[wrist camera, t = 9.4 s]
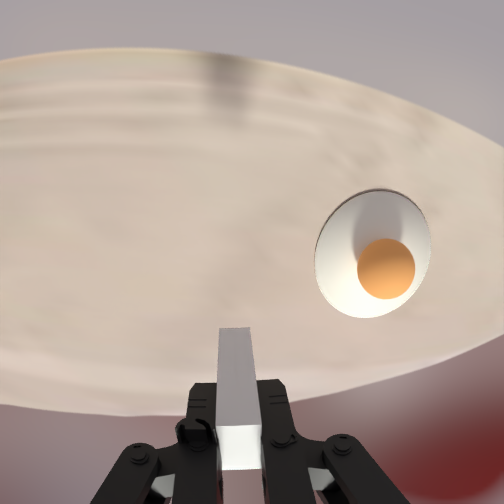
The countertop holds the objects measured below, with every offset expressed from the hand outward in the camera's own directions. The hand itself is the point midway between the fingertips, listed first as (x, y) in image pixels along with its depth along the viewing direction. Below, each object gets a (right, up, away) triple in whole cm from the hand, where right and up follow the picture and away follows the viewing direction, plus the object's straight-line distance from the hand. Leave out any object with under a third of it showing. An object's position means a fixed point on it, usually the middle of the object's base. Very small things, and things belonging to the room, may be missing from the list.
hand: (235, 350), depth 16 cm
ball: (+13, +3, +12) cm, 18 cm away
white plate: (+13, +4, +14) cm, 20 cm away
